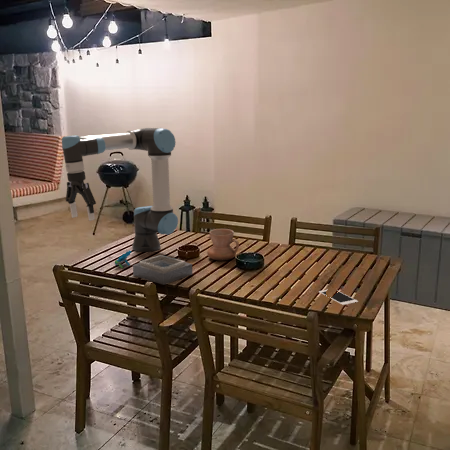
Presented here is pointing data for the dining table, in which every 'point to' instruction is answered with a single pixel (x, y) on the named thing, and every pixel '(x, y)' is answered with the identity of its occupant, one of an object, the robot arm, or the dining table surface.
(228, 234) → the ceramic jug
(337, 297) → the cell phone
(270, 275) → the dining table surface
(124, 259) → the gear
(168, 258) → the grey open tray
